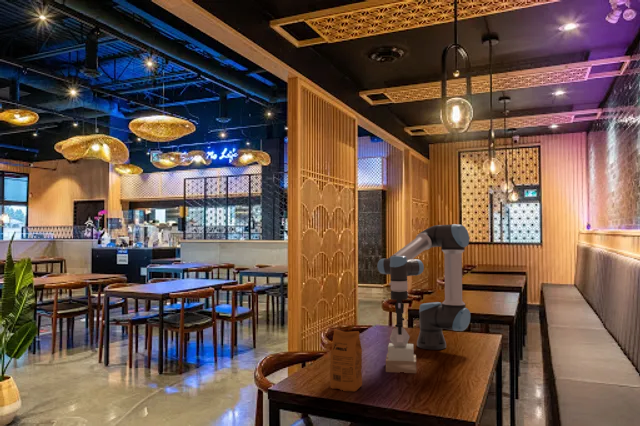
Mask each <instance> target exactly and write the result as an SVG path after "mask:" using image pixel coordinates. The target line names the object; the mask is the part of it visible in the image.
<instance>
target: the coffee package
mask: <svg viewBox="0 0 640 426" xmlns="http://www.w3.org/2000/svg"><path fill="white" fill-rule="evenodd" d="M360 334H361V333H360V331H359V330H357V331H343V330H339V329H336V328H335V329H333V335H332V342H331V350H330V367H329V380H330V384H329V385H330V386H329V387H330V389H331V388H332V389H331V390H334V389H336V390H340V391H342V390H343V391H342V392H357V391H358V390H359V389H360V387H362V386H363V376H362V369H363V366H362V363H363V361H362V360H363V359H362V356H363V355H362V354H363V349H362V343H361V338H360Z"/></svg>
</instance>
